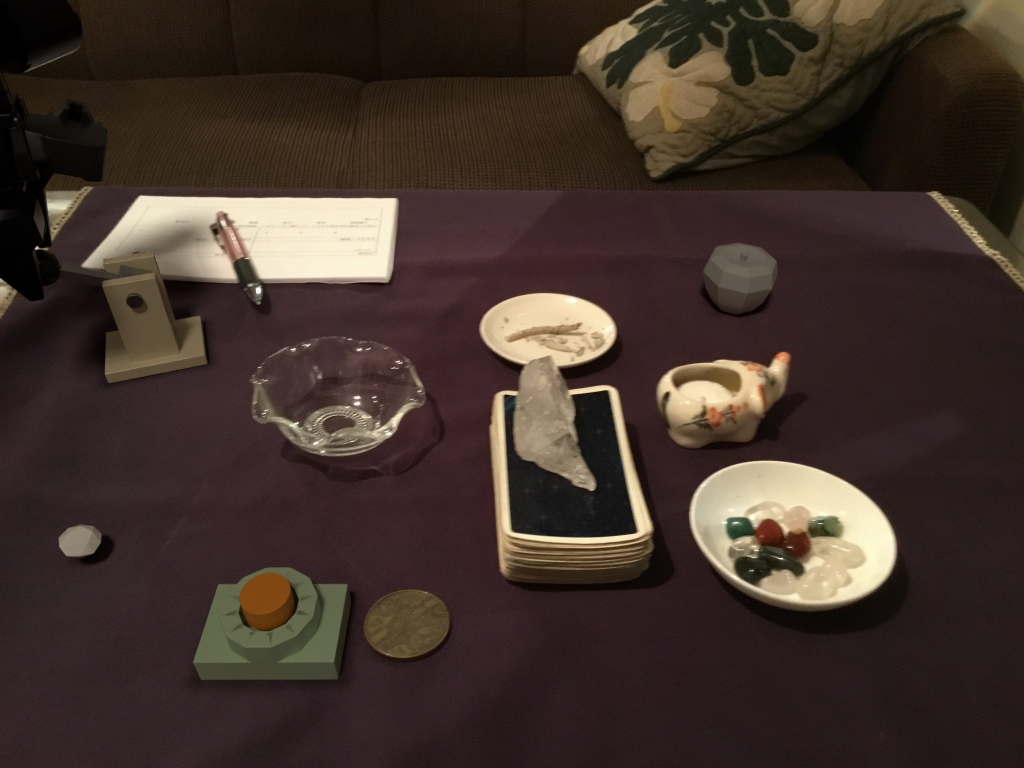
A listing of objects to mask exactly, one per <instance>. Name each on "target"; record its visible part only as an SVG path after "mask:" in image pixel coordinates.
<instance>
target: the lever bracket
mask: <svg viewBox="0 0 1024 768" xmlns="http://www.w3.org/2000/svg"><path fill="white" fill-rule="evenodd" d="M102 264H103V267H104V270H105V272H109V273H114V274H118V273H119V268H120V265H123V266H129V267H134V268H139V269H144V270H150V271H153V273H148V274H142V275H136V276H130V277H124V278H118V279H111V280H105V281H102V286H101V288H102V290H103V292H104V294H105V298H106V300H107V303H108V305H109V306H108V307H109V309H110V311H111V314H112V317H113V320H114V321H115V324H116V327H117V329H118V330H114V331H108V332H106V333H105V354H104V355H105V358H104V360H105V361H104V376H105V378H106V380H107V383H108V384H114V383H118V382H123V381H129V380H135V379H139V378H143V377H144V378H145V377H149V376H155V375H159V374H165V373H169V372H174V371H179V370H185V369H190V368H195V367H200V366H204V365H205V366H206V365H208V362H209V361H208V354H207V346H206V338H205V332H204V324H203V320H202V316H201V315H197V316H191V317H185V318H179V319H176V317H175V314H174V311H173V307H172V305H171V302H170V298H169V295H168V292H167V289H166V285H165V283H164V278H163V276H162V273H161V270H160V269H161V268H160V267H159V264H158V260H157V258H156V254H155V251H153V250H151V251H145V252H139V253H133V254H125V255H121V256H120V255H119V256H113V257H106V258H103V263H102Z"/></svg>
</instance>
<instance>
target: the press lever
mask: <svg viewBox="0 0 1024 768" xmlns="http://www.w3.org/2000/svg"><path fill="white" fill-rule="evenodd" d="M35 251H36V256H37V261H38V265H39V270H40V275H41V280H42V285H43V287H48V286H51V285H53V284H55V283H56V282H58V280H63V281H69V282H74V283H80V284H85V285H91V286H97V287H102V281H105V280H111V279H118V278H124V277H130V276H136V275H142V274H148V273H153V271H150V270H144V269H139V268H134V267H129V266H123V265H120V268H119V273H118V274H114V273H109V272H106V271H103V270H98V269H93V268H87V267H81V266H75V265H72V264H71V265H70V264H65V263H61V261H60V259H59V258H58V256H57V255H56V254H54V253H53V252H51V251H49V250H46V249H42V248H38V249H35Z"/></svg>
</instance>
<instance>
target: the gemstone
mask: <svg viewBox="0 0 1024 768" xmlns="http://www.w3.org/2000/svg"><path fill="white" fill-rule="evenodd" d="M101 543H102V532H100V531H99V530H98V528H96V527H95V526H94V525H90V524H89V525H88V524H81V523H80V524H77V525H74V526H71V527H67V528H66V529H65V530H64V532H62V533H61V534H60V536H58V547H59V549H60V550H61V551H62V552H63V554H64V555H65V556H66V557H71V558H78V559H83V558H86V557H88V556H91V555H93V554H94V553H95V552H96V551H97V549H98V548H99V546H100V544H101Z"/></svg>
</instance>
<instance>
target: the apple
mask: <svg viewBox="0 0 1024 768" xmlns="http://www.w3.org/2000/svg"><path fill="white" fill-rule="evenodd" d="M702 275H703V280H704V281H703V282H704V286H705V290H706V292H707V294H708V296H709V298H710V300H711V301H712V302H713V303H714V304H715V305H716V306H717V307H718V308H719V310H720V311H722V312H724V313H729V314H731V315H740V314H743V313H745V314H746V313H749V312H753V311H754V310H757V308H758V307H759V306H760V305H762V304H763V303H764V302H765V300H766V299H767V297H768V296H769V294H770V293H771V291H772V290H773V288H774V285H775V282H776V280H777V278H778V261H777V260H776V259H775V258H774V257H773V256H772V255H770V254H769V253H768V252H767V251H766V250H765V249H764V248H762V247H761V246H757V245H751V244H747V243H743V242H733V243H728V244H722V245H717V246H716V247H715V248H714V250H713V251H712V253H711V255H710V257H709V259H708V261H707V262H706V265H705V266H704V269H703V270H702Z"/></svg>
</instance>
